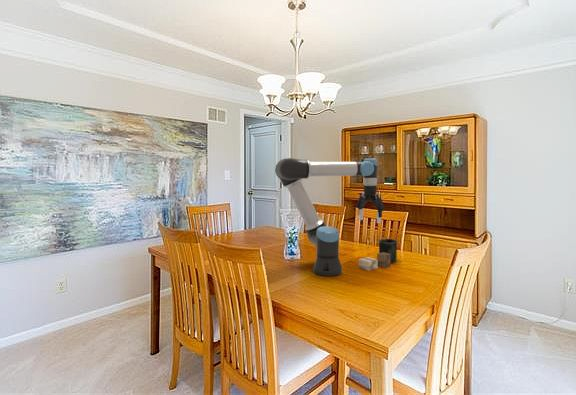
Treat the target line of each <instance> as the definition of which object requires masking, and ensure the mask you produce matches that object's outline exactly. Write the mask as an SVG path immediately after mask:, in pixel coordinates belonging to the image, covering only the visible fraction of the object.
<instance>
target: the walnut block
mask: <svg viewBox="0 0 576 395" xmlns="http://www.w3.org/2000/svg"><path fill="white" fill-rule="evenodd" d="M376 255H377V256H376V260H378V267H380V268H383V269H384V268H389V267H391V262H390V254H388V253H384V252H382V253H379V252H378V253H376Z"/></svg>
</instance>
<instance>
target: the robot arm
mask: <svg viewBox="0 0 576 395" xmlns="http://www.w3.org/2000/svg"><path fill="white" fill-rule="evenodd" d="M274 170H275V171H274V172H275V175H276V176H277V178H279V180H280V182H281V184H282V186H283V187H284V188H287V190H288V192H289V194H290V196H291V198H292V200H293V202H294V204H295V206H296V208H297V210H298V211H299V212H298V213H299V215H300V216H301V218H302V220H303V223H304V224H305V227H304V230H305V232H306V234H307V235H306V236H307V240H308V241H309V242H310V244H312V245H314V246H315V247H316V258H315V261H314V265H313V267H312V268H313V269H312V270H313V271H312V272H313V273H314V274H316V275H318V276H323V277H334V276H340V275H341V274H342V272H343V269H342V264H341V261H340V258H339V255H340V254H339V253H340V252H339V251H340V248H339V247H340V246H339V245H340V244H339V243H340V234H339V229H337V228H336V227H335V226H334V227H332V226H327V224H326V223H325V221H324V219H321V218H320V217H319V215H318V213H317V211H316V209H315V206H314V204H313V203H312V200H311V198H310V195H309V194H308V192H307V190H306V188H305V185H304V183H303V179H305V180H306V179H309V178H310V177H350V176H351V177H360V176H363V192H360V194H359V197H358V200H357V202H356V206H355V208H356V209H358V216H359V217H358V219H359V221H363V220H364V207H365V205H366V204H367V202H371V203H373V205H374V207H375V208H376V210H377V211H376V224H382V217H383V212H384V211H386V208H385V205H384V202H383V200H382V198H381V197H382V196H381V195H382V194H380V193H377V191H378V190H377V189H378V186H377V185H378V160H377V158H373V157H372V158H364V159H363V161H309V160H308V159H298V158H292V157H291V158H290V157H289V158H288V157H287V158H283V159H281V160H279V161H278V162H277V163H276V165H275V169H274Z"/></svg>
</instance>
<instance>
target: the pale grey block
mask: <svg viewBox="0 0 576 395" xmlns="http://www.w3.org/2000/svg"><path fill="white" fill-rule="evenodd" d="M378 267H379V266H378V260H377V258H372V257H369V256H368V257H367V256H366V257H362V258H359V259H358V268H359V269H363V270H365V271H367V272H368V271H373V270H377V269H378Z"/></svg>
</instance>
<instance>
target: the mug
mask: <svg viewBox="0 0 576 395" xmlns="http://www.w3.org/2000/svg"><path fill="white" fill-rule="evenodd" d="M378 246H379V247H378V253H382V252H384V253H388V254H390V263H396V262H397V258H398V256H397V254H398V253H397V249H398V240H397V239H392V238H380V239H378Z"/></svg>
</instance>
